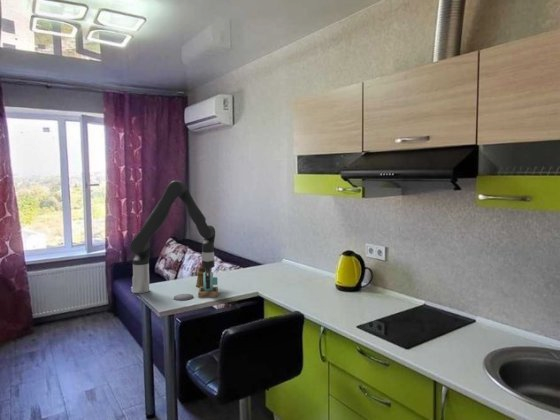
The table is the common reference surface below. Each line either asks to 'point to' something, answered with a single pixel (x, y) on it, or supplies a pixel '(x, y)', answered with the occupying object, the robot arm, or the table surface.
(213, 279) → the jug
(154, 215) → the robot arm
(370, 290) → the table surface
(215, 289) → the stand
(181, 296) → the disc
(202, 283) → the brown figurine
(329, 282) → the table surface
